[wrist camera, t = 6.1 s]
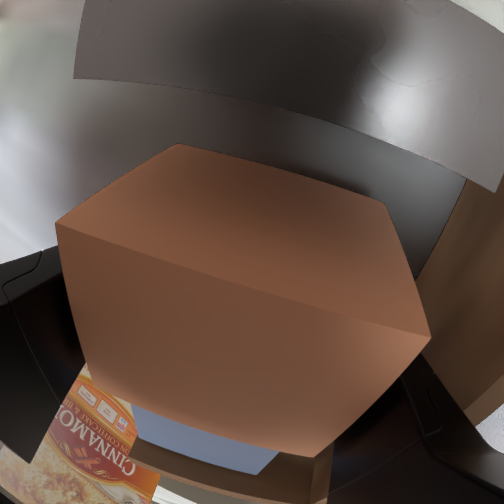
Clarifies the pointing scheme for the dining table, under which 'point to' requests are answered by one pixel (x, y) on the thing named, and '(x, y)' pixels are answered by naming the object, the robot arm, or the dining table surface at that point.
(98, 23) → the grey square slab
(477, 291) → the shelf
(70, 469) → the coffeecake box
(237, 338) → the salmon rectangular block
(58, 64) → the dining table surface
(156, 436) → the blue-grey plain cube block
